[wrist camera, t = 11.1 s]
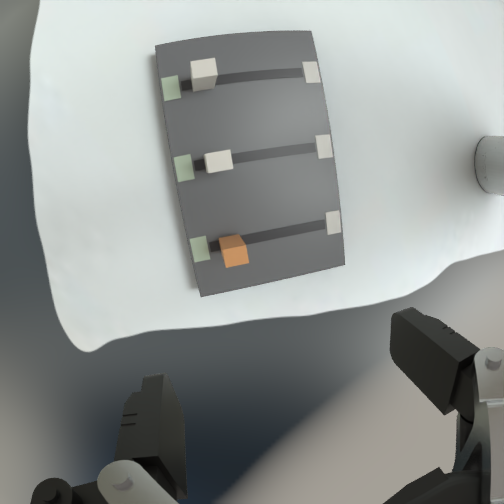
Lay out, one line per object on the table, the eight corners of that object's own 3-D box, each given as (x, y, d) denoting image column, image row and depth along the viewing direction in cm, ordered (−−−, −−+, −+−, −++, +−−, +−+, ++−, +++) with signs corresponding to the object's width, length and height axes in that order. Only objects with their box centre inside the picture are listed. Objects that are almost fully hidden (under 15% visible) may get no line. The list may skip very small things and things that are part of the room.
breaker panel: (303, 38, 29) (328, 13, 22) (335, 258, 37) (365, 279, 30) (157, 53, 27) (149, 26, 20) (200, 288, 35) (202, 318, 28)
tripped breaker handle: (238, 234, 31) (245, 245, 27) (241, 249, 31) (249, 263, 27) (218, 238, 31) (222, 249, 26) (221, 253, 31) (225, 267, 27)
